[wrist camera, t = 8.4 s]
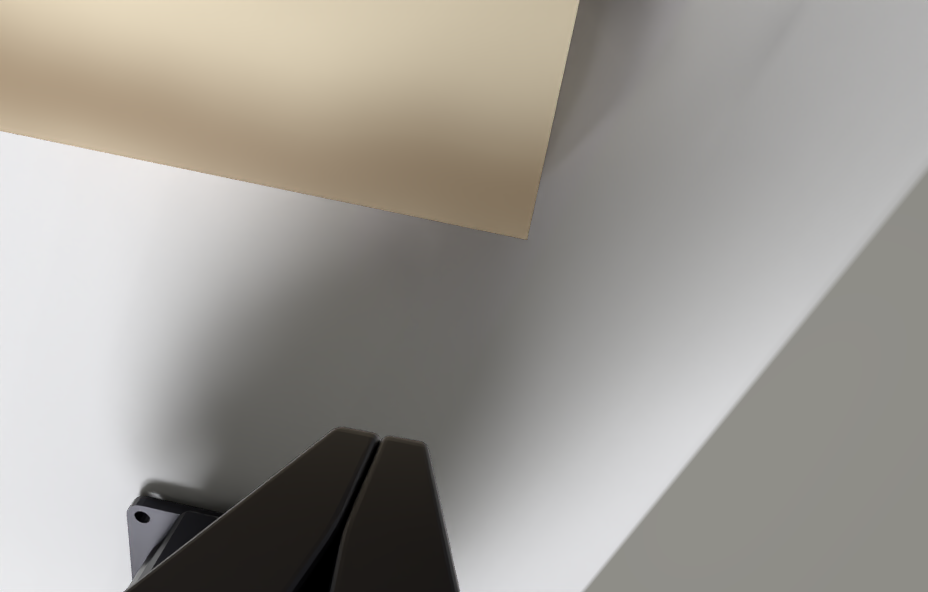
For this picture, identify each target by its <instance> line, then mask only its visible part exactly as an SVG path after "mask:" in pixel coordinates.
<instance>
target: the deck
mask: <svg viewBox="0 0 928 592" xmlns="http://www.w3.org/2000/svg"><path fill="white" fill-rule="evenodd" d="M579 1H580V0H0V131H4V132H8V133H13V134H18V135H23V136H28V137H33V138H37V139H42V140H47V141H52V142H57V143H61V144H66V145H71V146H76V147H81V148H86V149H90V150H95V151H100V152H105V153H110V154H115V155H119V156H124V157H129V158H134V159H139V160H144V161H148V162H153V163H158V164H163V165H168V166H173V167H177V168H182V169H187V170H192V171H197V172H201V173H206V174H211V175H216V176H221V177H226V178H230V179H235V180H240V181H245V182H250V183H255V184H259V185H264V186H269V187H274V188H279V189H284V190H288V191H293V192H298V193H303V194H308V195H312V196H317V197H322V198H327V199H332V200H337V201H341V202H346V203H351V204H356V205H361V206H366V207H370V208H375V209H380V210H385V211H390V212H395V213H399V214H404V215H409V216H414V217H419V218H423V219H428V220H433V221H438V222H443V223H448V224H452V225H457V226H462V227H467V228H472V229H477V230H481V231H486V232H491V233H496V234H501V235H506V236H510V237H515V238H520V239H525V240H527V238H528V233H529V229H530V224H531V220H532V215H533V211H534V206H535V201H536V197H537V192H538V188H539V183H540V179H541V174H542V169H543V165H544V160H545V156H546V151H547V147H548V142H549V138H550V133H551V128H552V124H553V119H554V115H555V110H556V106H557V101H558V96H559V92H560V87H561V83H562V78H563V74H564V69H565V65H566V60H567V55H568V51H569V46H570V42H571V37H572V33H573V28H574V23H575V19H576V14H577V10H578V5H579Z"/></svg>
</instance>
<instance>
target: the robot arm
mask: <svg viewBox="0 0 928 592" xmlns="http://www.w3.org/2000/svg"><path fill="white" fill-rule="evenodd" d="M127 522H128V534H129V546H130V557H131V569H132V582H131V583H130V585H129V587H128V588H127V589H126V590H125V591H124V592H460V589H459V585H458V580H457V575H456V571H455V566H454V562H453V557H452V553H451V548H450V543H449V539H448V534H447V530H446V525H445V521H444V516H443V511H442V507H441V502H440V498H439V493H438V489H437V484H436V479H435V475H434V470H433V466H432V461H431V457H430V452H429V449H428V447H427V445H426V444H425V443H424V442H421V441H416V440H411V439H406V438H400V437H395V436H386V437H384V438H383V439H382V440H381V439H380V437H379V436H378V435H377V434H376V433H374V432H368V431H363V430H357V429H352V428H347V427H338V428H335V429H333V430H331V431H330V432H329V433H327V434H326V435H325V436H323V437H322V438H321V439H320V440H318V441H317V442H316V443H314V444H313V445H312V446H311V447H309V448H308V449H307V450H305V451H304V452H303V453H302V454H300V455H299V456H298V457H296V458H295V459H294V460H293V461H291V462H290V463H289V464H287V465H286V466H285V467H284V468H282V469H281V470H280V471H278V472H277V473H276V474H275V475H273V476H272V477H271V478H269V479H268V480H267V481H265V482H264V483H263V484H262V485H260V486H259V487H258V488H256V489H255V490H254V491H253V492H251V493H250V494H249V495H247V496H246V497H245V498H244V499H242V500H241V501H240V502H238V503H237V504H236V505H235V506H233V507H232V508H231V509H229V510H228V511H227V512H226V513H224V514H222V513H218V512H213V511H209V510H204V509H200V508H196V507H191V506H187V505H182V504H178V503H174V502H169V501H165V500H160V499H156V498H152V497H147V496H140V497H137V498H136V499H135V500H134V501H133V503H132V504H131V505H130V507H129V508H128V510H127Z"/></svg>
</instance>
